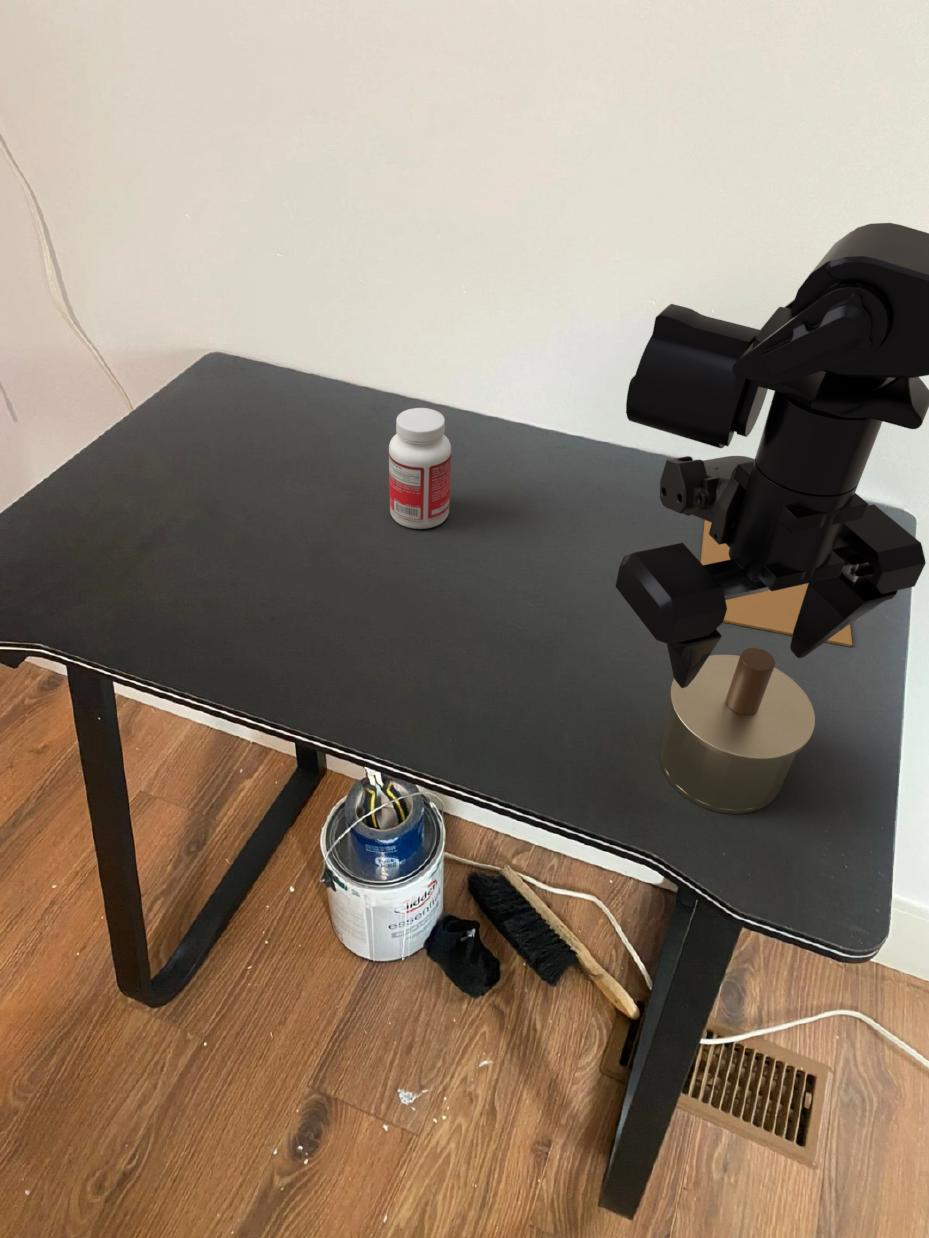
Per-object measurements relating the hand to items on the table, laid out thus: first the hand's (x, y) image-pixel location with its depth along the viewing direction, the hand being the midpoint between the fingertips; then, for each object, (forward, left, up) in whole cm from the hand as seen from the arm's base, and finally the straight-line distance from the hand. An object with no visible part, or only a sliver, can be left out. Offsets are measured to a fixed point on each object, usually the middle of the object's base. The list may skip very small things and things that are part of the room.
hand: (739, 668), depth 62 cm
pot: (-1, -3, -13) cm, 13 cm away
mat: (-5, -31, -13) cm, 34 cm away
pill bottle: (+31, -28, -13) cm, 44 cm away
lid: (-1, -3, -6) cm, 7 cm away
